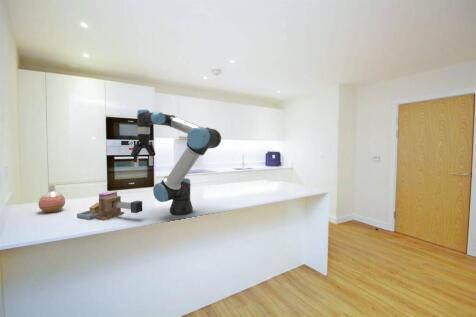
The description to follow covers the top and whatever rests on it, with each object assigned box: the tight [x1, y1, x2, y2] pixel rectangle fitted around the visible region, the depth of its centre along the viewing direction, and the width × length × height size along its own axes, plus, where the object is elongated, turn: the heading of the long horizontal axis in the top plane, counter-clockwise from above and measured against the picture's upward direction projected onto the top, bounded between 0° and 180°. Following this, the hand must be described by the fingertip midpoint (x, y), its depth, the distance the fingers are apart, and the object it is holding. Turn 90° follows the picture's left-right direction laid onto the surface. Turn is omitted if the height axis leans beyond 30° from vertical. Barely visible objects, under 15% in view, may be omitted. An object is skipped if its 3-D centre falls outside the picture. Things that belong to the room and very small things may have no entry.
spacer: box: [88, 202, 99, 215], centre depth 143 cm, size 5×6×4 cm
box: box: [98, 190, 118, 199], centre depth 155 cm, size 10×6×12 cm, turn 168°
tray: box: [76, 209, 99, 221], centre depth 142 cm, size 11×13×2 cm
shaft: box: [112, 200, 143, 214], centre depth 138 cm, size 26×5×6 cm, turn 72°
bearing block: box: [95, 195, 125, 221], centre depth 141 cm, size 7×14×12 cm, turn 162°
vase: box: [38, 184, 66, 214], centre depth 149 cm, size 14×14×18 cm
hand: (144, 166), depth 149 cm, fingers open, 13 cm apart
